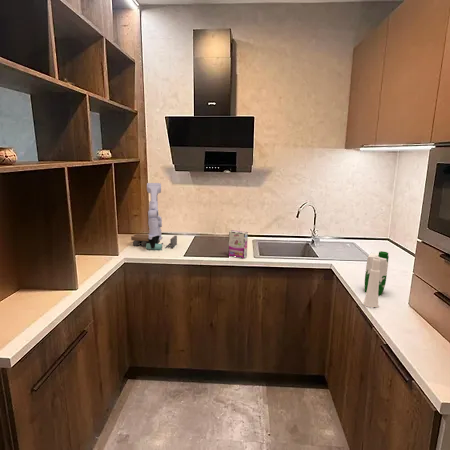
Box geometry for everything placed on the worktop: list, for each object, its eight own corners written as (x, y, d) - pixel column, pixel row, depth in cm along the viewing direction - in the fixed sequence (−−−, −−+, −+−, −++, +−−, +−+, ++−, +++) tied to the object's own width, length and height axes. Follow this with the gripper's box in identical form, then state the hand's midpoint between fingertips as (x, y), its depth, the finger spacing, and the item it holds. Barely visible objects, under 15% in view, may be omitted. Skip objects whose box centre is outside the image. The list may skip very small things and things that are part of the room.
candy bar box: (247, 257, 210) (248, 231, 207) (244, 259, 206) (244, 233, 202) (231, 254, 215) (232, 229, 212) (228, 256, 211) (228, 231, 208)
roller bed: (138, 242, 239) (138, 237, 238) (170, 244, 236) (170, 238, 235) (132, 245, 229) (132, 240, 228) (166, 247, 226) (166, 242, 225)
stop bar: (174, 244, 236) (174, 235, 235) (176, 244, 236) (176, 235, 235) (170, 248, 225) (170, 239, 224) (172, 248, 225) (172, 239, 224)
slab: (136, 236, 238) (136, 233, 238) (155, 238, 236) (155, 234, 236) (131, 240, 228) (131, 236, 228) (150, 241, 227) (150, 237, 226)
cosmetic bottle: (375, 309, 140) (381, 259, 136) (361, 304, 144) (366, 256, 140) (380, 305, 144) (386, 257, 140) (366, 300, 149) (372, 253, 144)
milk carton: (382, 297, 153) (387, 255, 149) (361, 292, 158) (366, 252, 154) (385, 291, 160) (390, 251, 156) (365, 286, 165) (370, 248, 161)
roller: (145, 248, 220) (146, 242, 221) (147, 249, 224) (148, 243, 225) (160, 249, 219) (160, 243, 220) (161, 250, 223) (162, 244, 224)
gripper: (151, 225, 227) (152, 244, 229) (143, 229, 213) (144, 249, 215) (161, 225, 226) (161, 244, 229) (154, 230, 212) (154, 250, 214)
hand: (154, 247), depth 222 cm, fingers closed on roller, 4 cm apart
